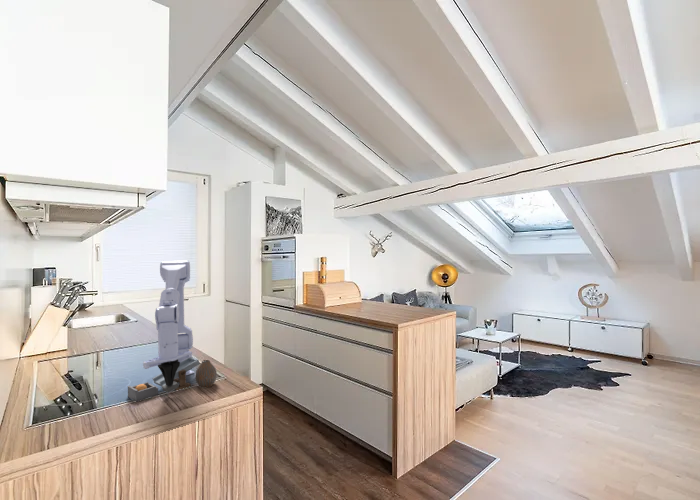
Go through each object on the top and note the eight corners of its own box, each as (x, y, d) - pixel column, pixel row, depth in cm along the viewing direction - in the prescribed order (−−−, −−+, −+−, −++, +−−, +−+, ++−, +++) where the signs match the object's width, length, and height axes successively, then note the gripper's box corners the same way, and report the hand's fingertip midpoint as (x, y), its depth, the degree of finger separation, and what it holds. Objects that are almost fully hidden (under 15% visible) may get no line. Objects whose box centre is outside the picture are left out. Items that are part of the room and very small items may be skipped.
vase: (212, 389, 121) (211, 363, 121) (192, 389, 122) (191, 363, 122) (220, 381, 128) (219, 357, 128) (201, 382, 128) (200, 357, 129)
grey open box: (128, 396, 117) (127, 386, 117) (149, 390, 122) (149, 380, 122) (136, 401, 113) (135, 390, 113) (158, 394, 118) (158, 384, 118)
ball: (144, 381, 119) (145, 391, 119) (132, 385, 116) (133, 395, 117) (148, 383, 117) (149, 394, 117) (136, 387, 114) (137, 398, 114)
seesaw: (150, 385, 122) (148, 380, 121) (191, 361, 133) (190, 356, 133) (168, 394, 113) (166, 388, 113) (211, 367, 125) (209, 362, 124)
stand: (163, 384, 127) (163, 367, 127) (177, 380, 131) (177, 363, 131) (176, 390, 121) (176, 373, 121) (191, 386, 125) (190, 369, 125)
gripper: (149, 349, 107) (150, 395, 107) (196, 339, 118) (197, 380, 118) (140, 346, 111) (141, 390, 111) (185, 337, 123) (186, 376, 123)
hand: (169, 384), depth 115 cm, fingers closed
